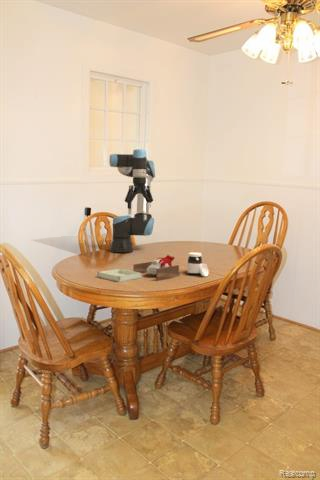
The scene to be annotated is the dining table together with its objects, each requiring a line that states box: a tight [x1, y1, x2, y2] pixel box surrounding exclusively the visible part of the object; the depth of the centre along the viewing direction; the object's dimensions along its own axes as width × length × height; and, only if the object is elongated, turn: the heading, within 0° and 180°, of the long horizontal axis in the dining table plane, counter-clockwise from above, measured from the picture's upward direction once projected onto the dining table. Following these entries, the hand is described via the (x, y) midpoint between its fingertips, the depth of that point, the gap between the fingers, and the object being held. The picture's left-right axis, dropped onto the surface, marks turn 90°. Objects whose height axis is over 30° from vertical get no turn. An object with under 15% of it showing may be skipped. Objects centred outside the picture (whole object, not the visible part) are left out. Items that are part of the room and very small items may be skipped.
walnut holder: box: [132, 261, 181, 282], centre depth 218 cm, size 18×17×6 cm
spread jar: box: [187, 252, 209, 278], centre depth 222 cm, size 12×11×12 cm
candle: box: [146, 254, 175, 276], centre depth 218 cm, size 9×11×15 cm
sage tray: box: [97, 268, 143, 283], centre depth 213 cm, size 17×15×3 cm
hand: (139, 214), depth 241 cm, fingers open, 13 cm apart
